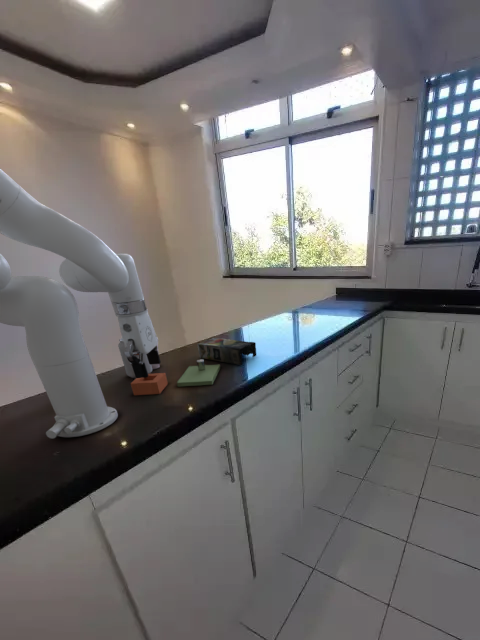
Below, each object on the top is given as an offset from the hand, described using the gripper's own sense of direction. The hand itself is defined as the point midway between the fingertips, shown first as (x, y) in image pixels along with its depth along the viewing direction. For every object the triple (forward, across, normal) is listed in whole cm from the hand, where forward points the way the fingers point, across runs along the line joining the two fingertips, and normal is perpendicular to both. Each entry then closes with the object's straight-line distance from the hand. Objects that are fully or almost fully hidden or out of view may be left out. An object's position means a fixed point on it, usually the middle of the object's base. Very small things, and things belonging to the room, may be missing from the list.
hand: (149, 370), depth 86 cm
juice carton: (+7, +24, -18) cm, 30 cm away
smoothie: (+6, +18, +6) cm, 20 cm away
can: (+6, +12, +8) cm, 16 cm away
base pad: (+6, +7, -12) cm, 15 cm away
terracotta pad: (+5, -1, 0) cm, 6 cm away
